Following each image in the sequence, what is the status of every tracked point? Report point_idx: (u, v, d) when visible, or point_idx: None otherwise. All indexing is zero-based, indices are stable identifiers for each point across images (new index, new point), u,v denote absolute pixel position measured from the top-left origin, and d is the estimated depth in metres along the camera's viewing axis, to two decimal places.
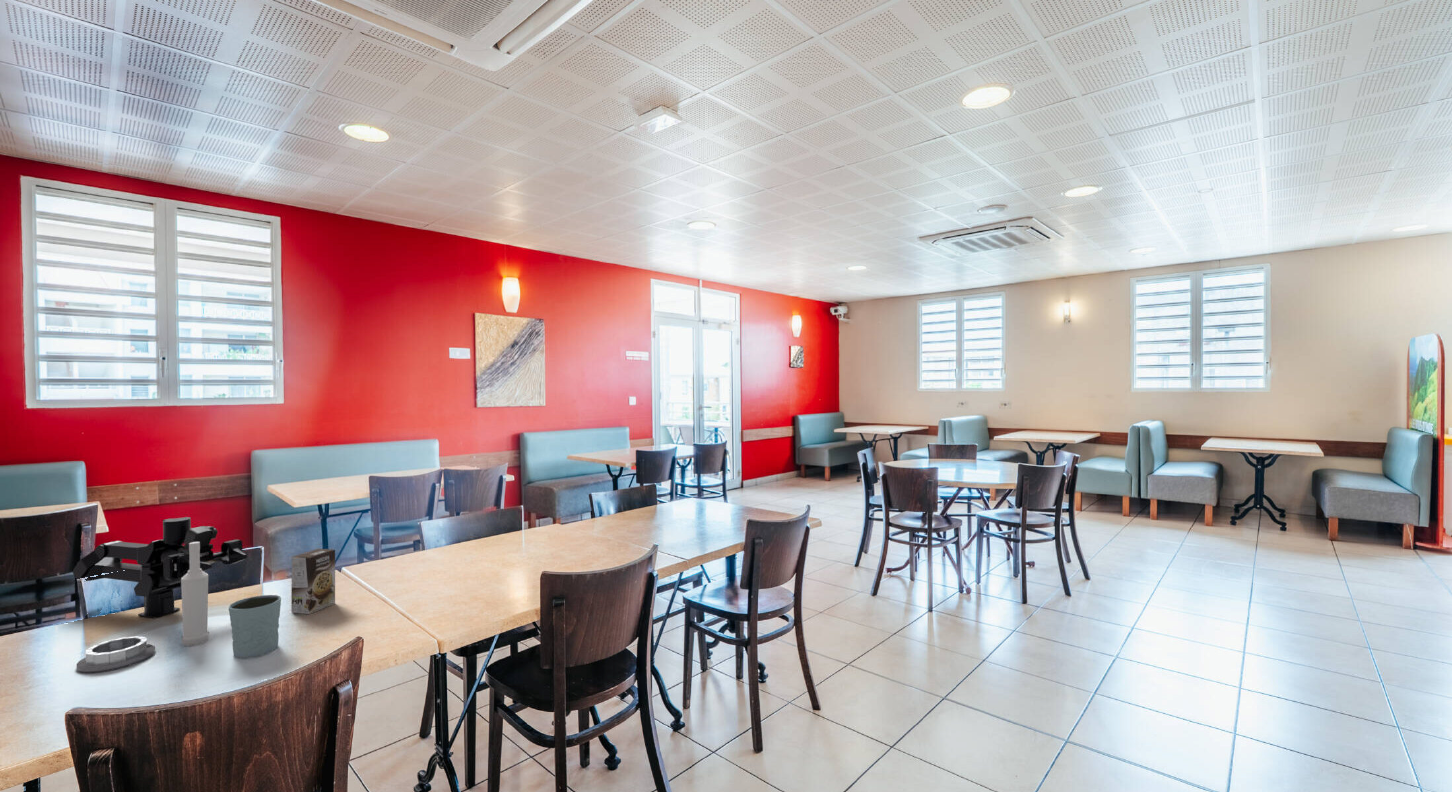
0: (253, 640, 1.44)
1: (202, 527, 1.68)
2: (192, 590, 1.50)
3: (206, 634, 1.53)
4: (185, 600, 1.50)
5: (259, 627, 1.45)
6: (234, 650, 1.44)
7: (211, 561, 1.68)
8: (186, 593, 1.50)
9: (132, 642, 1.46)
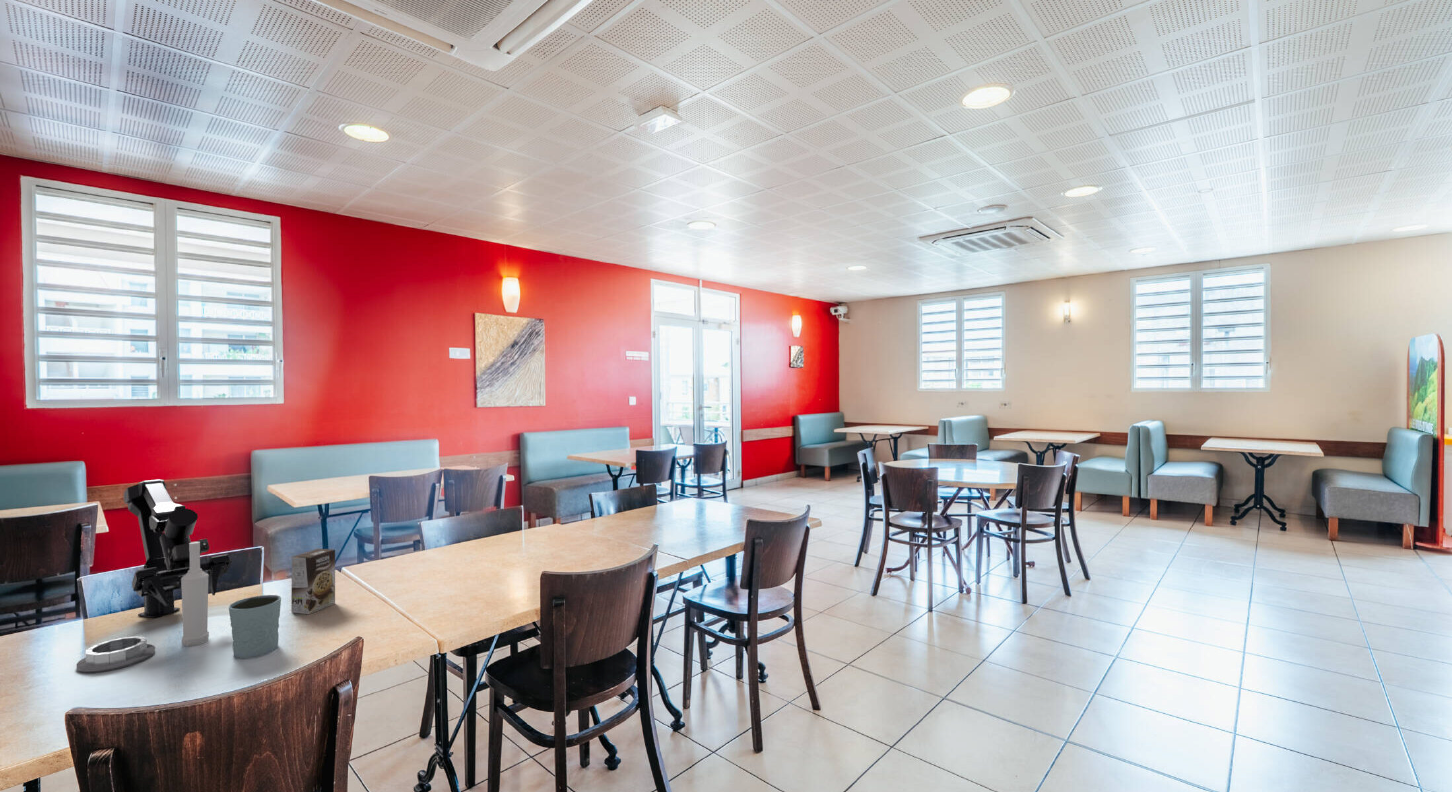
0: (253, 640, 1.44)
1: None
2: (192, 590, 1.50)
3: (206, 634, 1.53)
4: (185, 600, 1.50)
5: (259, 627, 1.45)
6: (234, 650, 1.44)
7: None
8: (186, 593, 1.50)
9: (132, 642, 1.46)
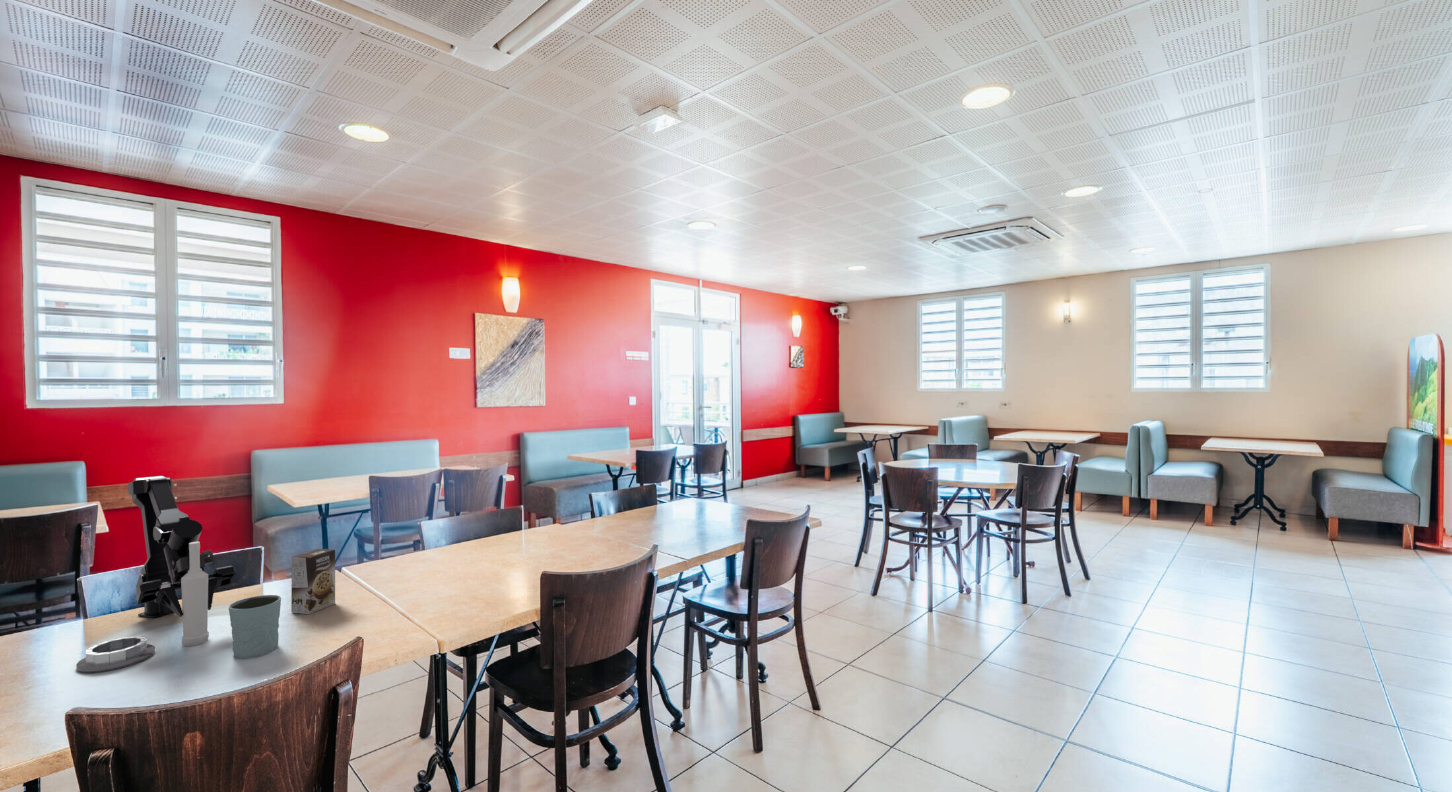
0: (253, 640, 1.44)
1: None
2: (192, 590, 1.50)
3: (206, 634, 1.53)
4: (185, 600, 1.50)
5: (259, 627, 1.45)
6: (234, 650, 1.44)
7: None
8: (186, 593, 1.50)
9: (132, 642, 1.46)
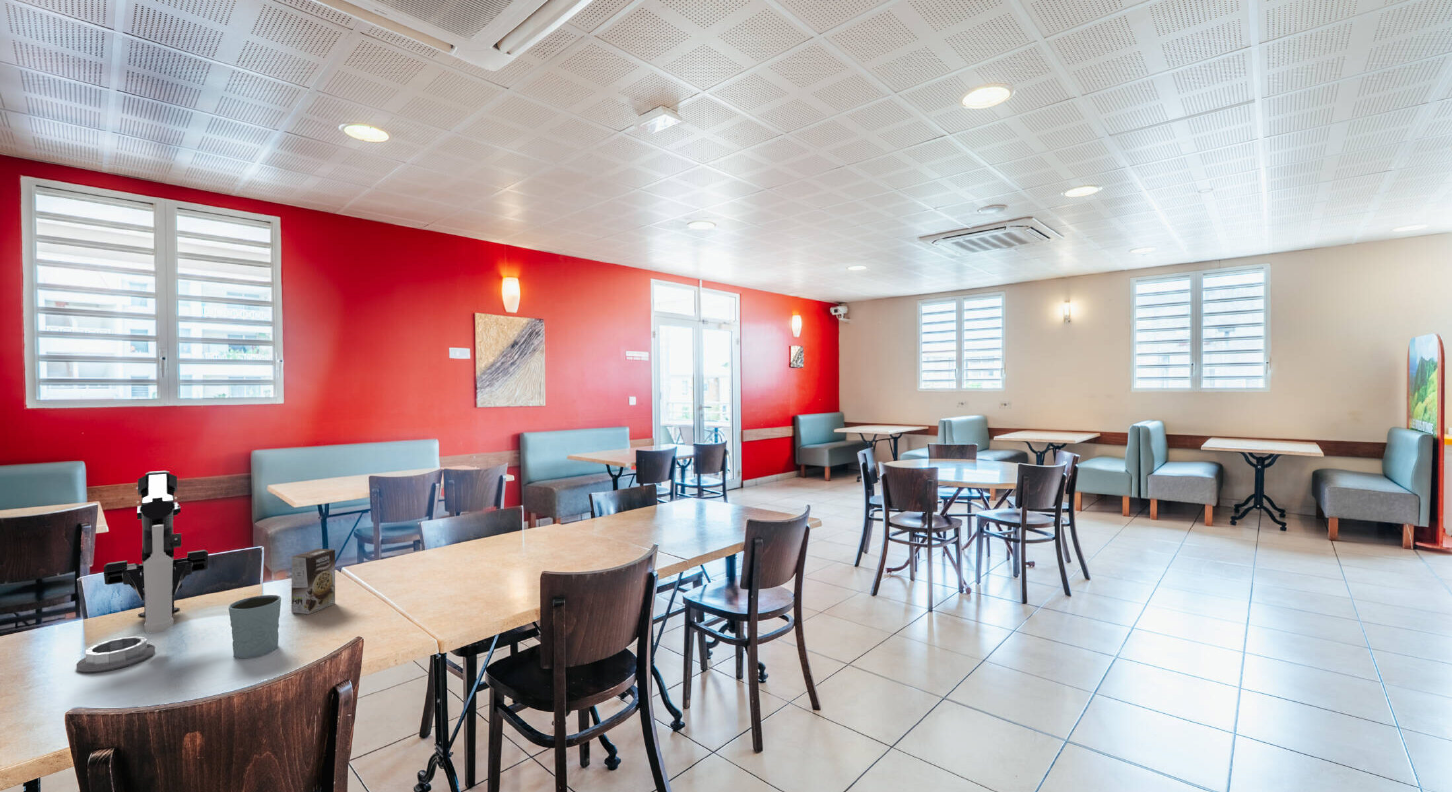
0: (253, 640, 1.44)
1: None
2: (152, 574, 1.44)
3: (168, 621, 1.47)
4: (146, 584, 1.44)
5: (259, 627, 1.45)
6: (234, 650, 1.44)
7: None
8: (146, 577, 1.44)
9: (132, 642, 1.46)
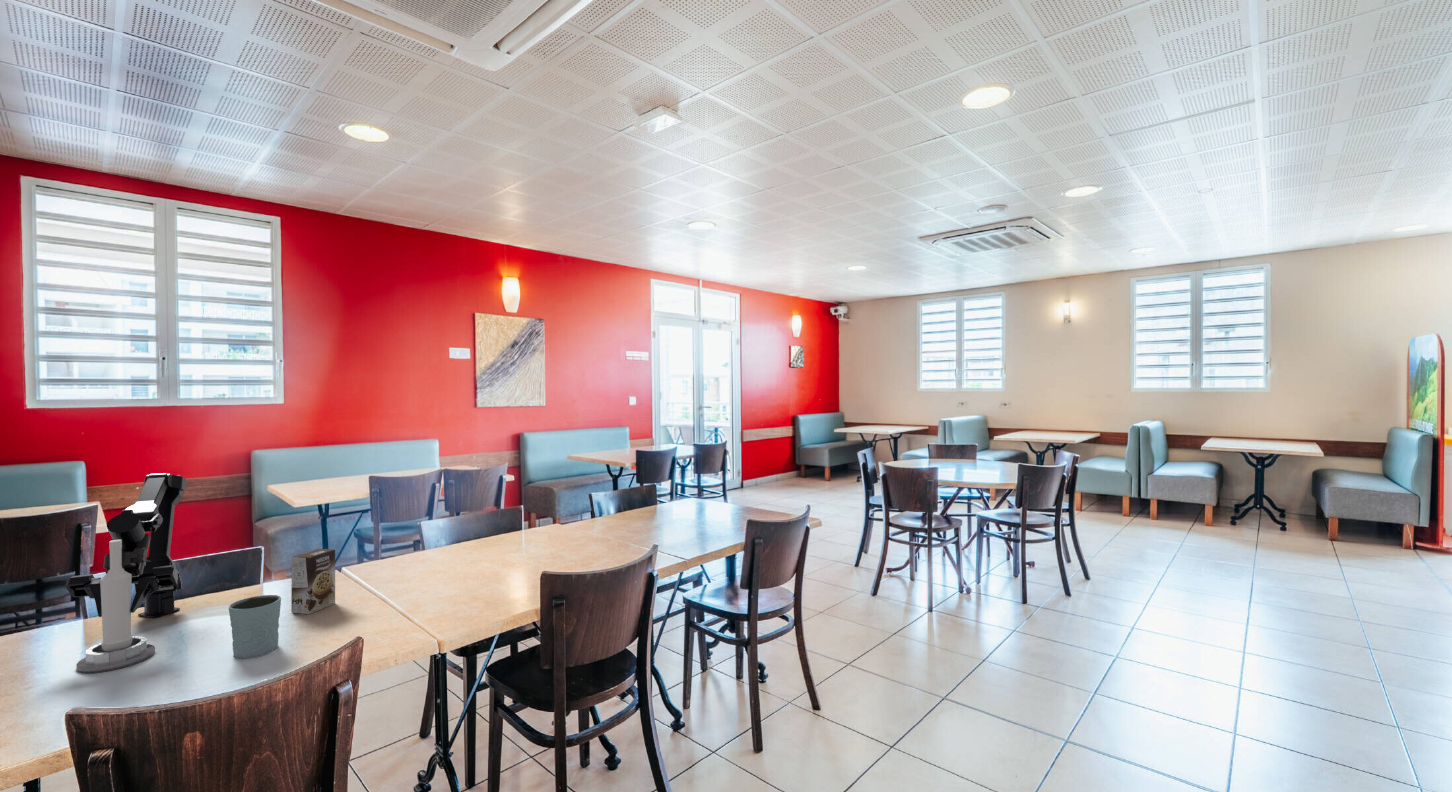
0: (253, 640, 1.44)
1: (122, 555, 1.43)
2: (106, 591, 1.40)
3: (124, 640, 1.42)
4: (101, 601, 1.40)
5: (259, 627, 1.45)
6: (234, 650, 1.44)
7: None
8: (102, 594, 1.40)
9: (132, 642, 1.46)
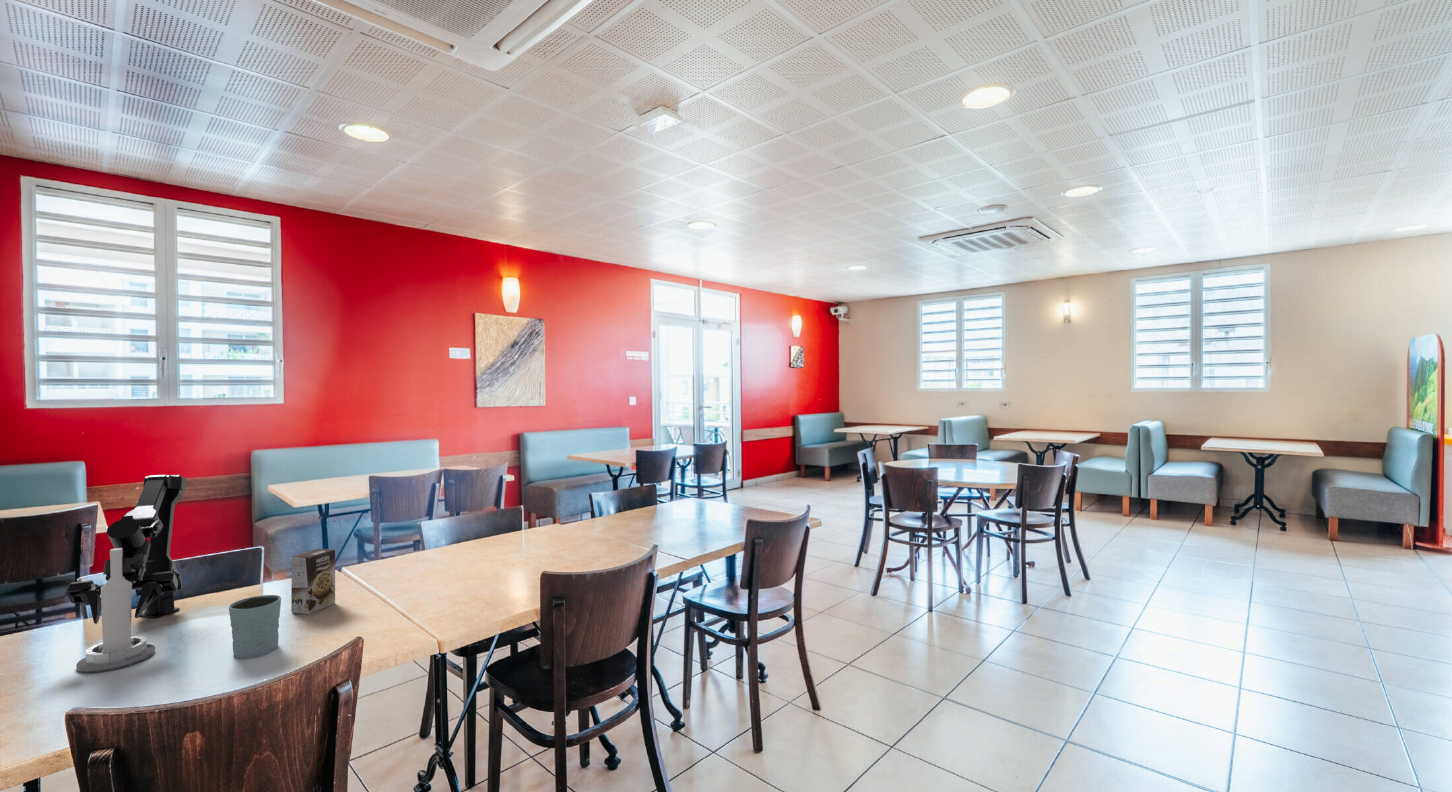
0: (253, 640, 1.44)
1: (122, 561, 1.43)
2: (106, 600, 1.40)
3: None
4: (102, 610, 1.40)
5: (259, 627, 1.45)
6: (234, 650, 1.44)
7: None
8: (102, 603, 1.40)
9: (132, 642, 1.46)
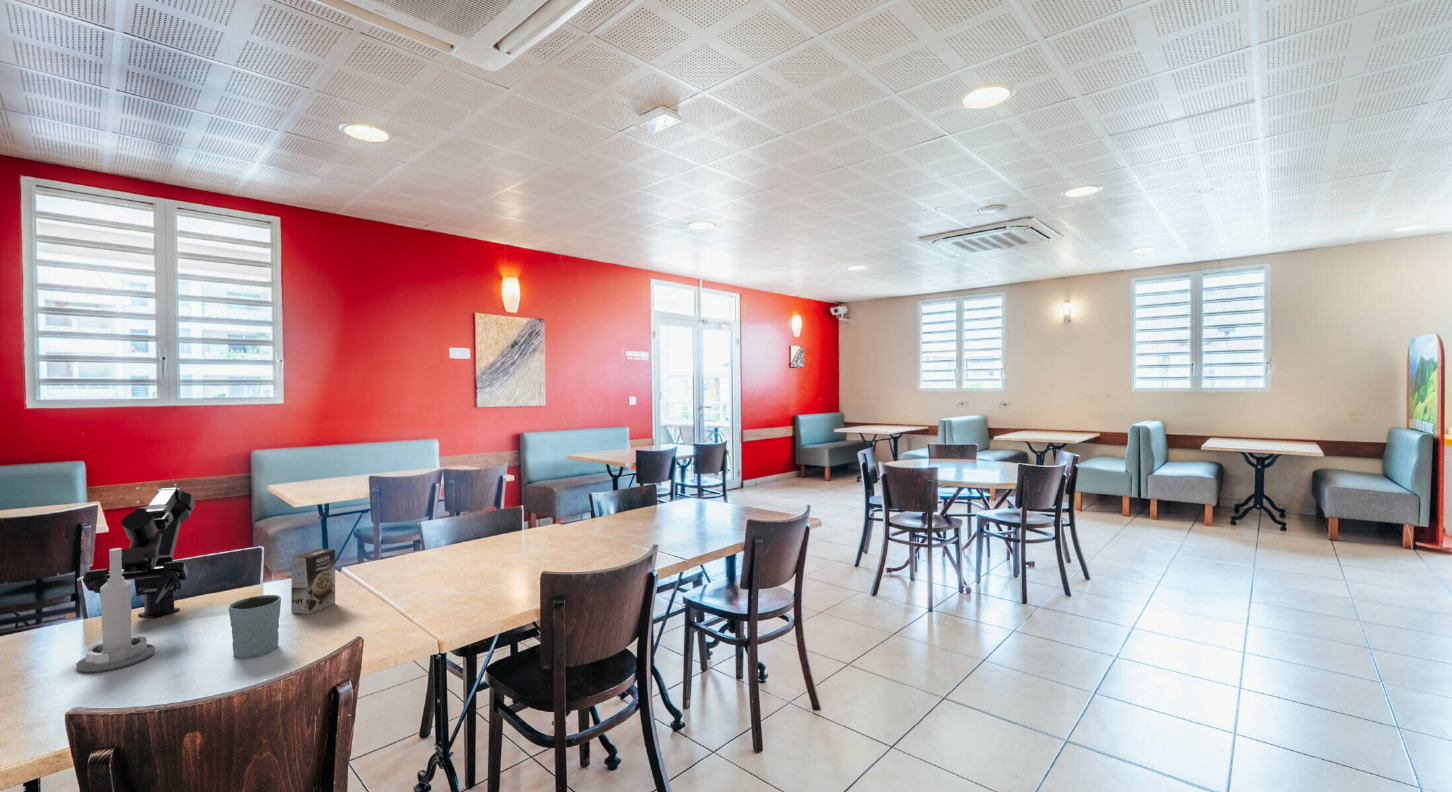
0: (253, 640, 1.44)
1: (136, 550, 1.51)
2: (106, 600, 1.40)
3: None
4: (101, 610, 1.40)
5: (259, 627, 1.45)
6: (234, 650, 1.44)
7: (147, 576, 1.57)
8: (101, 603, 1.40)
9: (132, 642, 1.46)
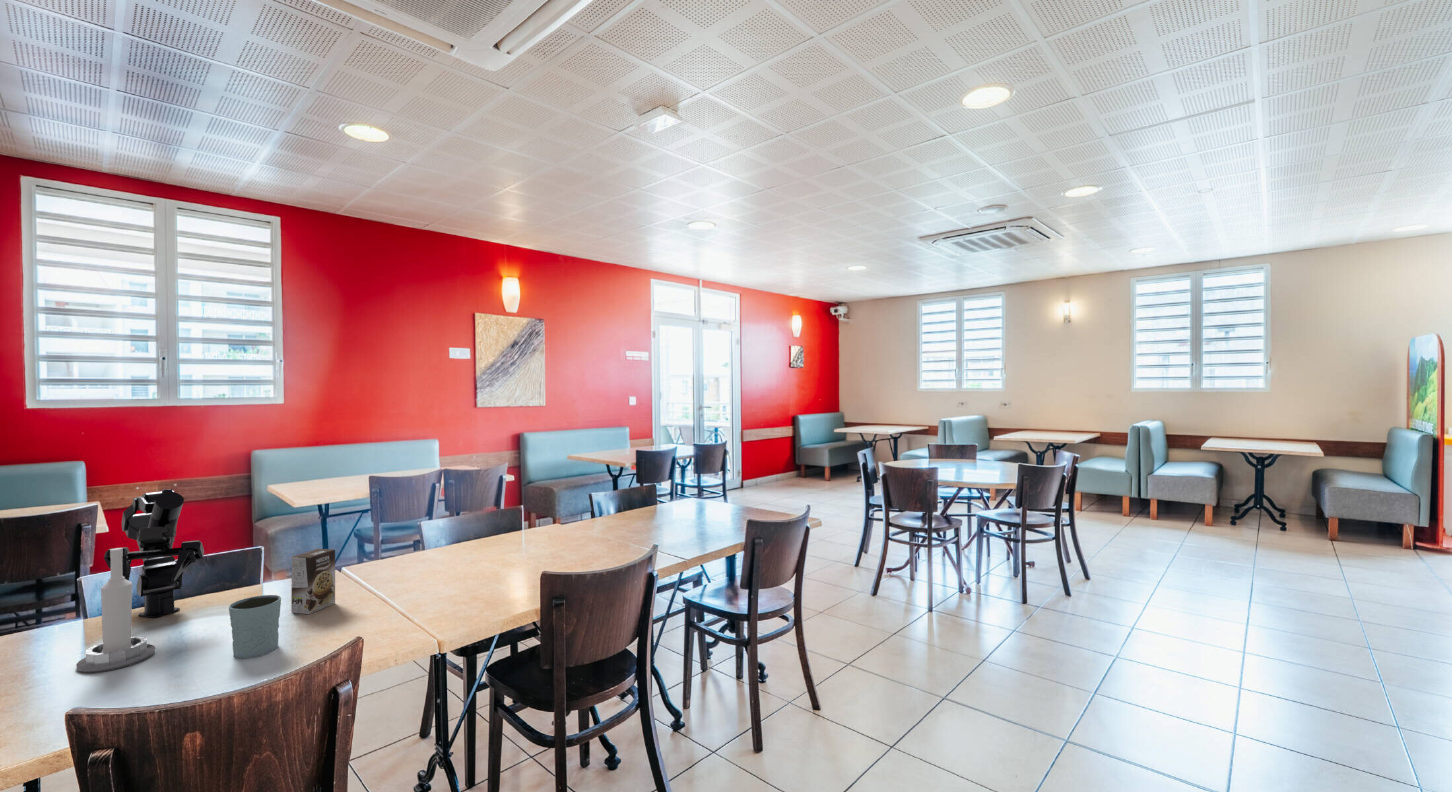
0: (253, 640, 1.44)
1: (155, 529, 1.57)
2: (106, 600, 1.40)
3: None
4: (102, 609, 1.40)
5: (259, 627, 1.45)
6: (234, 650, 1.44)
7: None
8: (102, 602, 1.40)
9: (132, 642, 1.46)
